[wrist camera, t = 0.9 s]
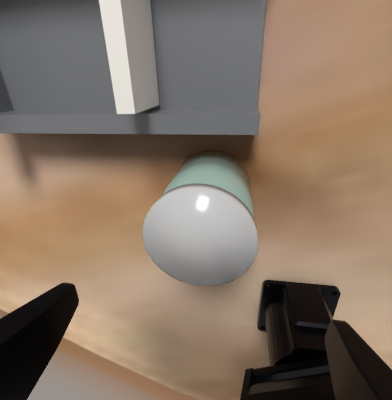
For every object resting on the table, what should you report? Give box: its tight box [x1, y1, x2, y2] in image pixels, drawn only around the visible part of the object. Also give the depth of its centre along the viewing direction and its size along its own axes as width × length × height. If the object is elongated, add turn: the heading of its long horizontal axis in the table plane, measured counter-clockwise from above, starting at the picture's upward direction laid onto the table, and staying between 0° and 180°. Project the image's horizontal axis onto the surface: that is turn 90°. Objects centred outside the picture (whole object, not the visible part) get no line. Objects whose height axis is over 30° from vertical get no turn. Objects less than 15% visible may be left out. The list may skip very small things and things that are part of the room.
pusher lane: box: [0, 0, 266, 135], centre depth 14 cm, size 10×19×5 cm, turn 92°
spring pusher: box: [99, 0, 159, 114], centre depth 13 cm, size 7×1×4 cm, turn 2°
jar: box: [143, 151, 258, 286], centre depth 16 cm, size 6×6×7 cm
